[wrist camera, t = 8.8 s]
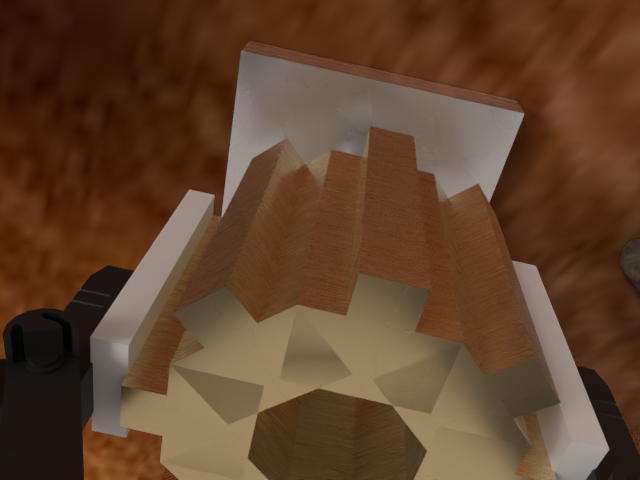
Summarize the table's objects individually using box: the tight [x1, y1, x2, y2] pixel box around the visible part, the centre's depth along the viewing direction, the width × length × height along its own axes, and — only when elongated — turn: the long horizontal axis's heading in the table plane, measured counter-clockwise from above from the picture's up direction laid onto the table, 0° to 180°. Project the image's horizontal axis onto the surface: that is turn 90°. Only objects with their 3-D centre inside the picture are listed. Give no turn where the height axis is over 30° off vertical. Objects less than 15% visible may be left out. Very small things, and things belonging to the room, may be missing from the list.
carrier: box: [221, 41, 525, 217], centre depth 23 cm, size 10×18×6 cm, turn 168°
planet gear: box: [120, 126, 561, 480], centre depth 15 cm, size 9×9×7 cm
